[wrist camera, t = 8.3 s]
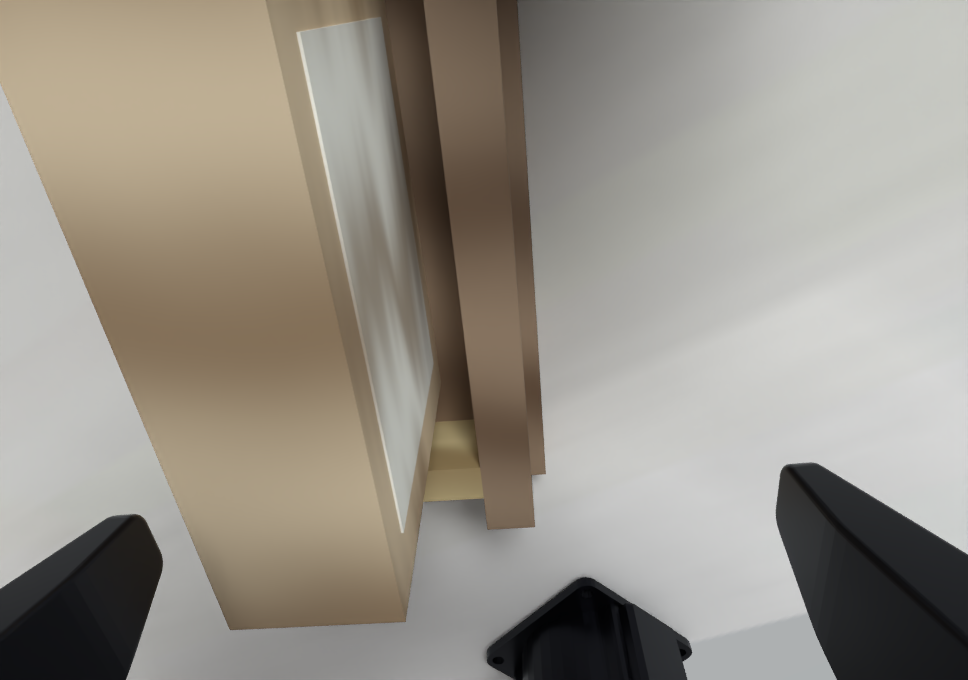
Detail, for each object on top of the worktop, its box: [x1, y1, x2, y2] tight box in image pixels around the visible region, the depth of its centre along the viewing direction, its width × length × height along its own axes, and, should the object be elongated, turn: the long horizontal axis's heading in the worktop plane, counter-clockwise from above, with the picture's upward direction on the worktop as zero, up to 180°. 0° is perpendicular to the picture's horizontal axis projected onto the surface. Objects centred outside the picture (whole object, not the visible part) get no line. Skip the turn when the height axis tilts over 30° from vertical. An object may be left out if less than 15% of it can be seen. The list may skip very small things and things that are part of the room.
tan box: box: [0, 0, 441, 630], centre depth 14 cm, size 12×4×9 cm, turn 5°
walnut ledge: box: [385, 0, 546, 530], centre depth 17 cm, size 20×10×4 cm, turn 5°
